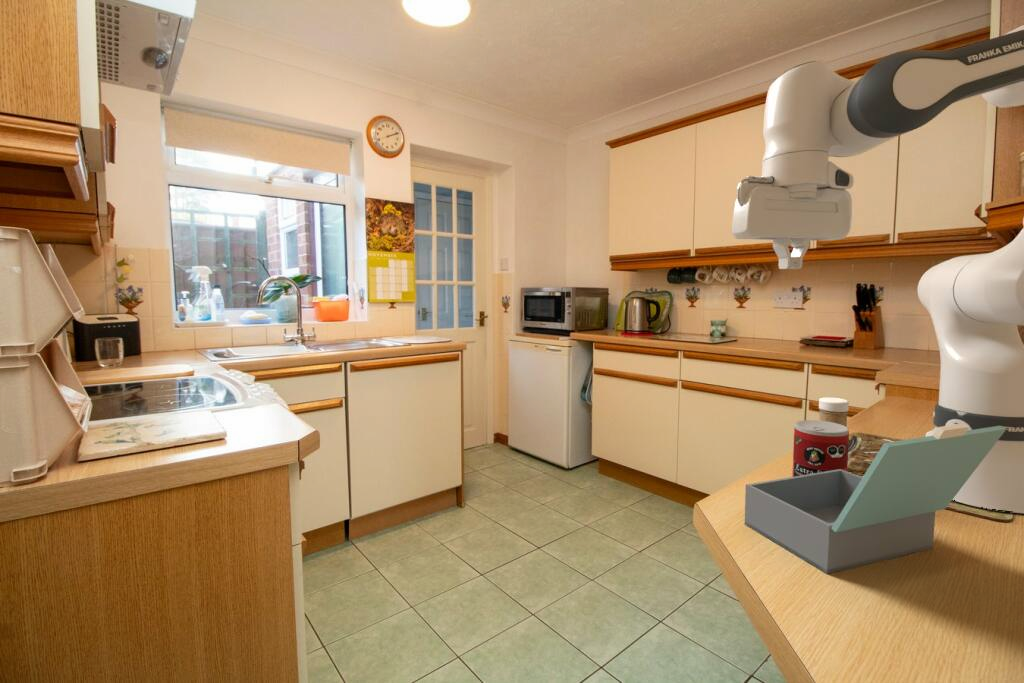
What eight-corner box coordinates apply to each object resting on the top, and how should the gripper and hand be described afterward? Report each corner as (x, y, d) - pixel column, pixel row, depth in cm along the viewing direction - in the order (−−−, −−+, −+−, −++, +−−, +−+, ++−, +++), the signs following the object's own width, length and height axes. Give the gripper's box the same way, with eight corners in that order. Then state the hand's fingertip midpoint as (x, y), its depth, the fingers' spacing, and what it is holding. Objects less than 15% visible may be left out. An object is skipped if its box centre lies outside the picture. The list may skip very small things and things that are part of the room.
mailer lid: (1006, 417, 54) (1012, 420, 54) (940, 505, 61) (945, 508, 60) (889, 433, 49) (895, 437, 48) (831, 528, 56) (835, 532, 55)
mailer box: (838, 506, 74) (840, 469, 74) (932, 548, 62) (935, 503, 61) (744, 524, 69) (745, 484, 68) (827, 574, 57) (829, 526, 56)
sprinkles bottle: (849, 470, 89) (853, 399, 87) (838, 475, 86) (842, 403, 85) (822, 463, 93) (826, 395, 91) (811, 468, 90) (814, 398, 89)
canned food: (786, 489, 81) (788, 426, 80) (799, 476, 86) (802, 417, 85) (839, 503, 75) (843, 435, 74) (850, 488, 81) (854, 425, 80)
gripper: (755, 169, 67) (752, 267, 69) (862, 177, 73) (857, 267, 75) (723, 179, 73) (721, 270, 75) (824, 186, 79) (820, 269, 81)
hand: (790, 268), depth 75 cm, fingers closed
